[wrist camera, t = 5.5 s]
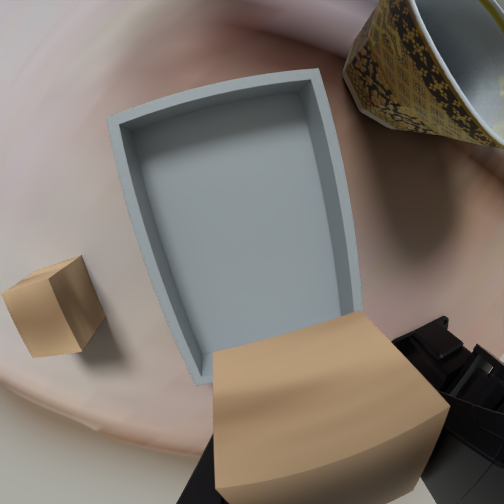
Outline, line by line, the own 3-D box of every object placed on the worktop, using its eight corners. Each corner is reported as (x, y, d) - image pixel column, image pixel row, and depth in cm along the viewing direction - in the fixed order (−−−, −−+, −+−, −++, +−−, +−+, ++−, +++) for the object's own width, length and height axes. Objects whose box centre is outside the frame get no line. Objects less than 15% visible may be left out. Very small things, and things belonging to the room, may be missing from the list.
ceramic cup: (419, 175, 17) (533, 190, 8) (297, 109, 15) (387, 47, 6) (445, 47, 15) (528, 20, 5) (346, -19, 13) (410, -87, 3)
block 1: (105, 315, 18) (82, 351, 13) (60, 325, 17) (32, 357, 13) (81, 255, 16) (48, 278, 12) (36, 270, 16) (1, 294, 12)
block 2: (362, 405, 9) (412, 490, 5) (249, 439, 9) (266, 539, 5) (359, 310, 8) (450, 405, 4) (213, 352, 8) (215, 488, 4)
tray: (346, 317, 20) (364, 337, 17) (197, 358, 19) (195, 385, 16) (302, 84, 15) (318, 68, 12) (124, 126, 14) (106, 117, 12)
